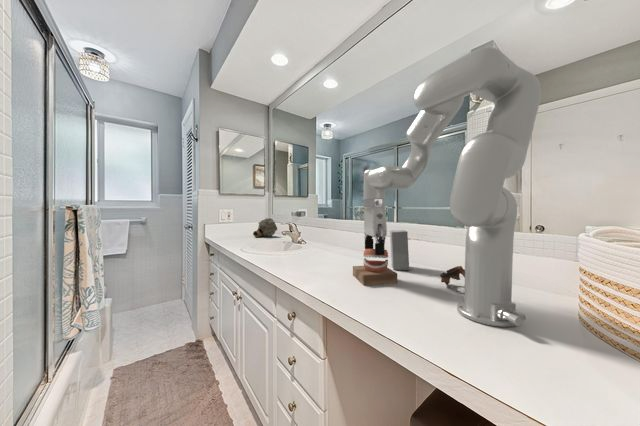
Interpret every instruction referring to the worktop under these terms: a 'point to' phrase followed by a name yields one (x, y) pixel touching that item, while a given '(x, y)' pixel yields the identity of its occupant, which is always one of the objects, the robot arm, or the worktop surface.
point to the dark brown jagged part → (452, 274)
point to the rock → (265, 228)
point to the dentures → (375, 265)
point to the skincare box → (399, 249)
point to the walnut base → (374, 276)
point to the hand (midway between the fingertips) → (374, 252)
